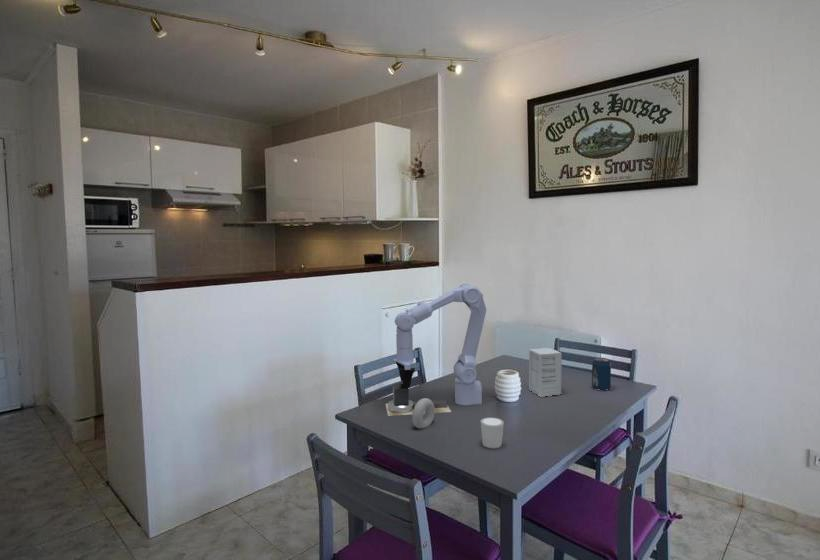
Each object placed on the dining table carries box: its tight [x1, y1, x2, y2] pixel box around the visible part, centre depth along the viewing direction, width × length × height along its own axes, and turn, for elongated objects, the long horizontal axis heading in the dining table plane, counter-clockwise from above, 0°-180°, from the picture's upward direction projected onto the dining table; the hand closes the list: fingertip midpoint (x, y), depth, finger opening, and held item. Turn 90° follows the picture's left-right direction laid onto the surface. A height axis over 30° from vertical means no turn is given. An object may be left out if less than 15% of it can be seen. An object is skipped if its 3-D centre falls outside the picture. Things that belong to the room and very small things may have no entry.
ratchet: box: [387, 399, 449, 413], centre depth 169 cm, size 21×9×4 cm, turn 97°
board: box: [384, 402, 452, 417], centre depth 169 cm, size 22×12×1 cm, turn 97°
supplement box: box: [528, 347, 563, 398], centre depth 186 cm, size 10×9×17 cm
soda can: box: [591, 357, 612, 390], centre depth 190 cm, size 7×7×12 cm
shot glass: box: [480, 416, 505, 449], centre depth 141 cm, size 7×7×7 cm
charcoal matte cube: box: [392, 383, 410, 406], centre depth 168 cm, size 5×5×6 cm
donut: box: [411, 397, 436, 430], centre depth 153 cm, size 10×4×10 cm, turn 143°
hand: (405, 384), depth 170 cm, fingers open, 7 cm apart
